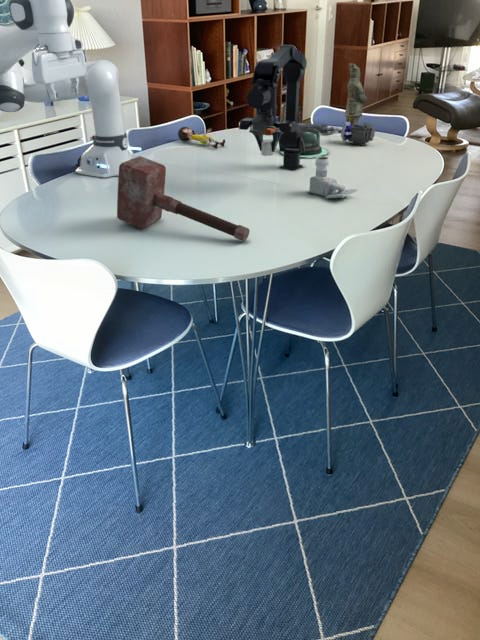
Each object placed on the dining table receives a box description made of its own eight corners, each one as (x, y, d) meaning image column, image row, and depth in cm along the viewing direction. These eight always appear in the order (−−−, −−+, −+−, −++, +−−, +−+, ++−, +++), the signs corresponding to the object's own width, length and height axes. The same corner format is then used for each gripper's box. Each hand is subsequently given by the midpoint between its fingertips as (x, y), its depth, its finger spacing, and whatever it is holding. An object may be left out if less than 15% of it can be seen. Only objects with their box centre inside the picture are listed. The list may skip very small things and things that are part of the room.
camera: (321, 153, 186) (360, 161, 177) (319, 188, 192) (356, 197, 183) (306, 158, 180) (345, 167, 171) (304, 194, 186) (342, 204, 177)
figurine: (211, 139, 238) (170, 125, 250) (210, 157, 242) (170, 142, 255) (230, 134, 247) (190, 120, 259) (229, 150, 251) (189, 136, 263)
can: (262, 156, 188) (262, 142, 186) (260, 153, 192) (260, 139, 190) (274, 155, 189) (274, 141, 187) (272, 152, 192) (272, 139, 190)
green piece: (332, 145, 241) (326, 158, 224) (294, 164, 249) (286, 177, 233) (317, 113, 235) (310, 124, 219) (279, 133, 244) (269, 145, 228)
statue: (367, 132, 266) (374, 63, 251) (349, 133, 264) (355, 64, 249) (357, 127, 275) (362, 61, 260) (339, 129, 273) (344, 62, 258)
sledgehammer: (260, 200, 149) (138, 154, 161) (243, 211, 142) (117, 162, 153) (248, 256, 159) (134, 209, 171) (232, 269, 152) (114, 219, 163)
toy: (345, 120, 249) (377, 123, 242) (343, 139, 253) (375, 143, 246) (337, 123, 243) (369, 127, 236) (336, 143, 247) (367, 147, 240)
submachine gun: (254, 130, 262) (277, 120, 281) (254, 136, 263) (277, 126, 282) (316, 136, 248) (336, 125, 267) (316, 142, 250) (336, 131, 268)
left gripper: (40, 47, 147) (50, 103, 154) (86, 41, 163) (93, 92, 170) (21, 47, 149) (32, 102, 156) (68, 41, 165) (76, 91, 172)
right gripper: (231, 105, 179) (232, 154, 187) (285, 108, 172) (284, 159, 180) (245, 100, 188) (245, 147, 196) (297, 103, 181) (296, 151, 189)
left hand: (64, 96), depth 163 cm, fingers open, 8 cm apart
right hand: (267, 151), depth 190 cm, fingers closed on can, 4 cm apart
